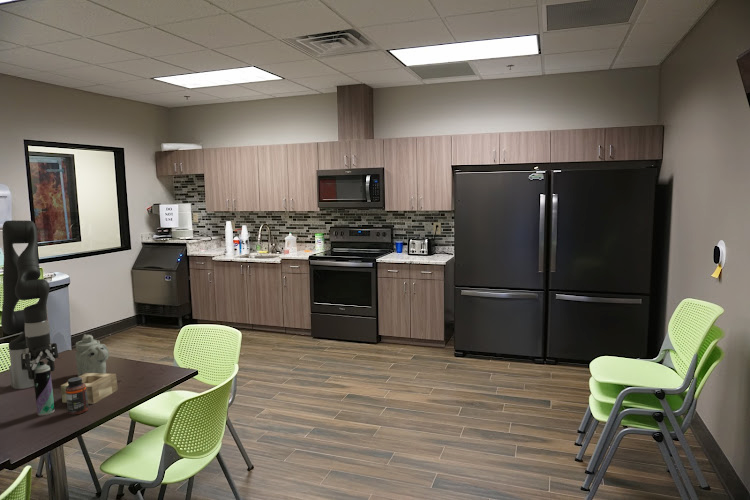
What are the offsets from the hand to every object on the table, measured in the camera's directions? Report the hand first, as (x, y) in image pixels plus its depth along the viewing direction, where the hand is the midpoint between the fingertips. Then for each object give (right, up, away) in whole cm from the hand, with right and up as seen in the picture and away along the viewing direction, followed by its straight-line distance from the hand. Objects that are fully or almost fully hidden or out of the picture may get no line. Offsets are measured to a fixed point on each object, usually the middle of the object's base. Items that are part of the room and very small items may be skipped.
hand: (42, 375), depth 191 cm
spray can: (0, -15, +2) cm, 15 cm away
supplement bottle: (+13, -14, +2) cm, 19 cm away
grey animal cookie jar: (-2, -11, +39) cm, 41 cm away
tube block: (+9, -13, +16) cm, 22 cm away
